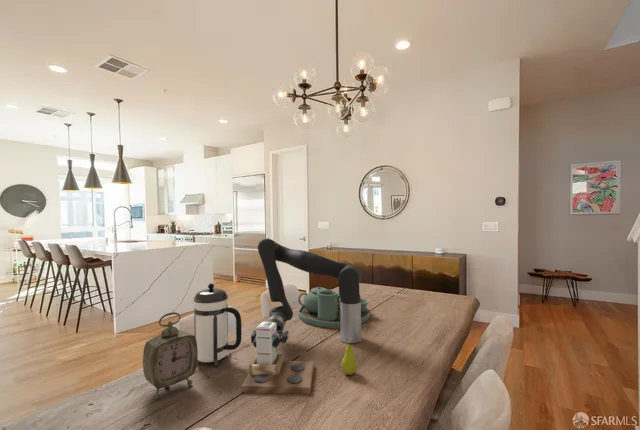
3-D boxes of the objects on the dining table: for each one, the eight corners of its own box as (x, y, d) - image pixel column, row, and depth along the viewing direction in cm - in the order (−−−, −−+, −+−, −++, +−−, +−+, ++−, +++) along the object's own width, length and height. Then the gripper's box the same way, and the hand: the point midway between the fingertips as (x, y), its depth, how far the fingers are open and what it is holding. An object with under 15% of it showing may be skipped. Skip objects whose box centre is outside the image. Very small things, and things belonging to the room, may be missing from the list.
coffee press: (193, 374, 114) (193, 290, 114) (189, 356, 128) (188, 281, 128) (242, 363, 122) (241, 285, 122) (232, 347, 136) (232, 277, 136)
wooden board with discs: (313, 366, 119) (313, 353, 119) (310, 393, 101) (310, 378, 101) (255, 365, 120) (255, 352, 120) (241, 392, 102) (241, 376, 102)
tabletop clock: (152, 404, 96) (151, 321, 96) (140, 393, 102) (140, 315, 102) (197, 384, 107) (197, 310, 107) (184, 375, 113) (184, 305, 113)
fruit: (353, 379, 110) (352, 345, 110) (338, 375, 113) (338, 341, 113) (360, 372, 115) (360, 339, 115) (345, 368, 118) (345, 336, 118)
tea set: (382, 324, 165) (382, 292, 165) (307, 332, 154) (306, 298, 154) (354, 303, 203) (354, 277, 203) (292, 308, 193) (292, 281, 193)
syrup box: (271, 369, 111) (271, 327, 111) (256, 367, 112) (255, 326, 112) (277, 361, 117) (277, 321, 117) (262, 359, 118) (262, 320, 118)
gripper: (256, 318, 129) (244, 334, 112) (291, 318, 129) (285, 334, 112) (256, 336, 129) (245, 355, 113) (292, 336, 129) (285, 355, 112)
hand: (265, 344), depth 112 cm, fingers closed on syrup box, 6 cm apart
